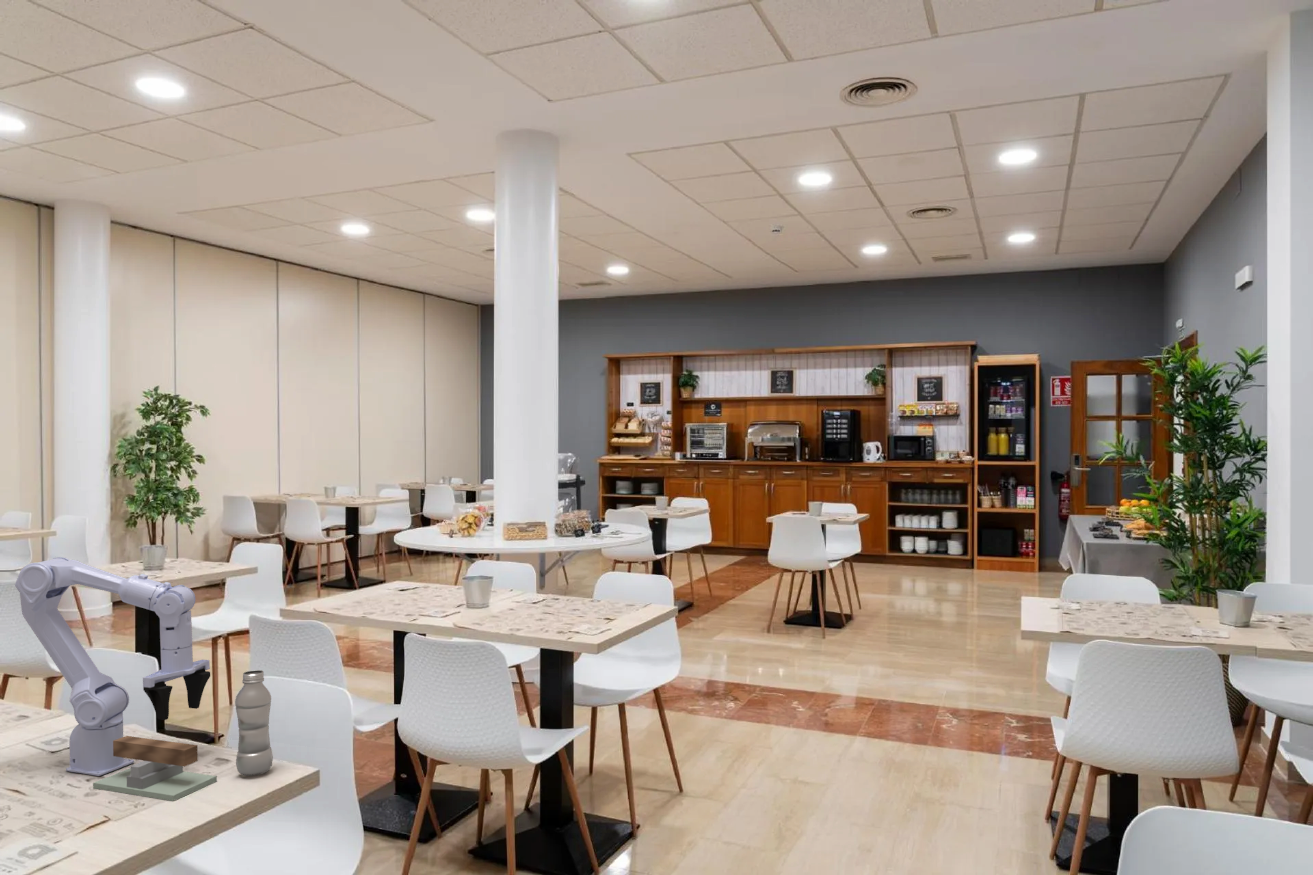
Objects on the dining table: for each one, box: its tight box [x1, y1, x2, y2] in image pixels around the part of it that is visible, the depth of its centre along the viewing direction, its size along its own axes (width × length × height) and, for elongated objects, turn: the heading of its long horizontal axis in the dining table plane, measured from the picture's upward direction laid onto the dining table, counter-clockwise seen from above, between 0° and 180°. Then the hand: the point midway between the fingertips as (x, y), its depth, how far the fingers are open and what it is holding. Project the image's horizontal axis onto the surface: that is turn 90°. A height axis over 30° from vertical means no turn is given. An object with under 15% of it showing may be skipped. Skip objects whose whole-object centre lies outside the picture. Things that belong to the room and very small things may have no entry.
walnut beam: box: [113, 735, 199, 768], centre depth 173 cm, size 18×3×3 cm, turn 70°
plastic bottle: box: [234, 669, 274, 777], centre depth 178 cm, size 6×7×20 cm
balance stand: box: [92, 760, 218, 802], centre depth 173 cm, size 20×10×5 cm, turn 70°
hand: (178, 713), depth 183 cm, fingers open, 7 cm apart
